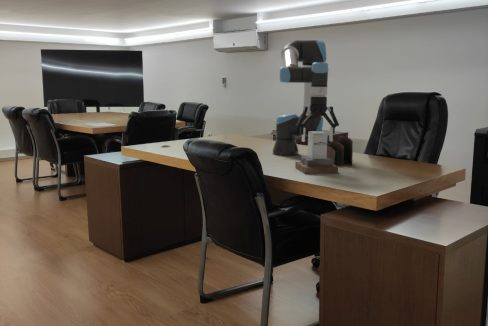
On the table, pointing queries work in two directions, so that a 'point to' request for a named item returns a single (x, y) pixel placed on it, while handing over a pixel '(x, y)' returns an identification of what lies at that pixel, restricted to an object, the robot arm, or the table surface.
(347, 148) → the letter holder
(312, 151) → the supplement box
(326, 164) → the riser
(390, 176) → the table surface
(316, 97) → the robot arm
